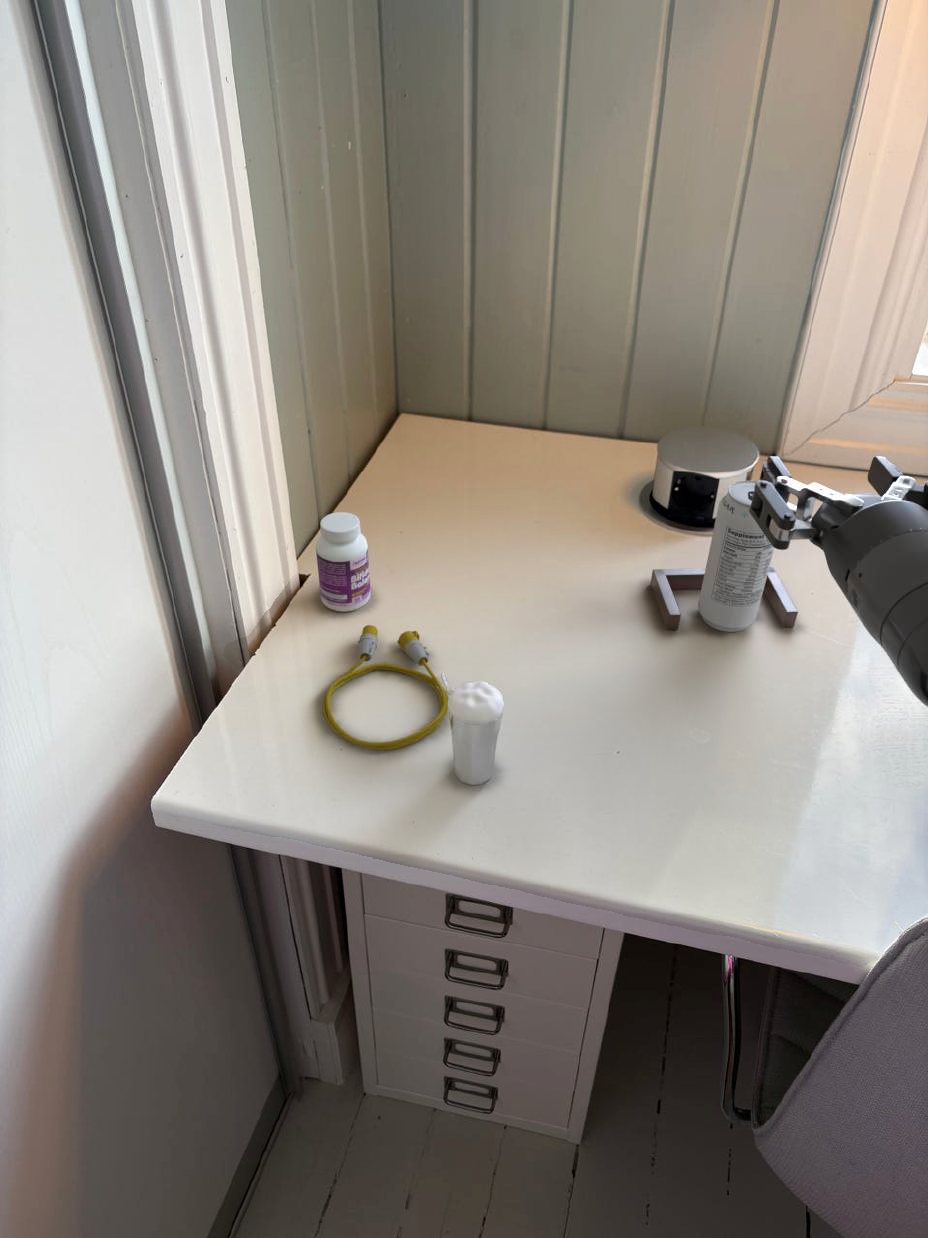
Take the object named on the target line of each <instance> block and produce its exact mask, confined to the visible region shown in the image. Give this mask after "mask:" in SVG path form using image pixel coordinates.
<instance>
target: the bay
mask: <svg viewBox="0 0 928 1238" xmlns="http://www.w3.org/2000/svg"><path fill="white" fill-rule="evenodd" d="M705 569H706V567H704V568H664V569H661V568H660V569H652V572H651V578H650V584H649V585H650V587H651V590H652V592H653V595H654V598H655V600H656V604H657V607H658V609H659V612H660V614H661V617H662V620H663V623H664V625H665V628H666V631H678V630H679V627H680V623H681V622H680V621H681V617H682V614H681V611H680V608H679V607H678V604H677V600H676V599H675V596H674V593H673V591H678V590H680V591H681V590H682V591H683V590H684V591H685V590H701V588H702V584H703V579H704V574H705ZM763 593H764V594H765V595H766V597H767V599H768V601H769V603H770V605H771V607H772V609H773V611H774V613H775V615H776V617H777V619H778V620H779V622H780V624H781V626H782V627H783V628H794V627H795V624H796V621H797V618H798V614H799V610H798V609H797V607H796V606H795V604H794V602H793V600H792V598H791V597H790V595H789V593H788V591H787V589H786V588H785V586H784V583H783V582H782V581H781V579H780V577H779V574H778V573H777V571H776V569H775V568H774V567H773V566H770V567H769V570H768V574H767V578H766V582H765V586H764V590H763Z"/></svg>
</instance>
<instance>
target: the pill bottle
mask: <svg viewBox="0 0 928 1238" xmlns="http://www.w3.org/2000/svg"><path fill="white" fill-rule="evenodd" d="M319 523H320V524H319V525H320V527H319V528H320V536H319V538H318V539H317V540H316V544H315V554H316V555H315V556H316V564H317V573H318V583H319V585H318V586H319V593H320V600H321V602H322V604H323V605H324V606H325V607H326V608H328V609H330V610H332V611H336V612H345V613H346V612H352V611H356V610H359V609H360V608H362V607H363V606H365V605H366V604H367V603H368V602H369V601H370V598H371V580H370V579H371V576H370V560H369V559H370V557H369V545H368V541H367V538H366V536H364V534H363V533H361V531H362V529H361V523H360V519H359V517H358V516H357V515H355V514H354V513H350V512H345V511H338V512H337V511H336V512H332V513H329V514H327V515H325V516H324V517H323V518H321V520H320V522H319Z"/></svg>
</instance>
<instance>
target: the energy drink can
mask: <svg viewBox="0 0 928 1238" xmlns="http://www.w3.org/2000/svg"><path fill="white" fill-rule="evenodd" d="M757 481H758V480H757ZM757 481H756V480H739V481H736V482H734V483H732V484H731V485H729V487H728V491H727V493H726V494H725V495H724V496H723V497H722V498H721V499H720V500H719V502H718V507H717V511H716V517H715V521H714V526H713V531H712V535H711V540H710V545H709V551H708V554H707V561H706V564H705V568H706V569H705V574H704V579H703V584H702V588H701V589H700V594H699V598H698V602H697V603H698V604H697V610H698V612H699V613H700V615H701V617H702V618H701V619H702V620H703V622H705V624H707V625H708V626H710V627H711V628H713V629H715V630H717V631H720V632H721V631H722V632H725V633H727V632H728V633H735V632H736V633H737V632H740V631H742V630H745V629H747V627H748V626H749V625H751V624H753V623H754V622H755V621H756V619H757V618H758V612H759V609H760V605H761V601H762V598H763V593H764V586H765V582H766V578H767V574H768V570H769V567H771V562H772V559H773V554H774V552H775V548H774V547H773V546H772V545H771V543H770V542H769V540H768V539H767V537H766V536H765V534H764V533H763V532H762V530H761V529H760V527H759V526H758V524H757V523H756V521H755V520H754V518H753V517H752V515H751V514H750V512H749V509H750V505H751V503H752V498H753V494H754V490H755V489H754V487H755V483H756V482H757Z"/></svg>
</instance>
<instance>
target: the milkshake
mask: <svg viewBox="0 0 928 1238" xmlns="http://www.w3.org/2000/svg"><path fill="white" fill-rule="evenodd" d="M440 677H441V679H442V682H443V684H444V687H445V690H446V692H447V694H448V698H449V699H448V716H449V717H448V718H449V723H450V724H449V725H450V731H451V733H450V734H451V743H452V752H453V753H452V754H453V755H452V756H453V765H454V773H455V775H456V776H457V778H458V779H459V781H460V782H462V783H464V784H468V785H470V786H475V785H477V786H478V785H483V784H485V783H486V782H487V781H489V780H491V778H492V777H493V770H494V764H495V757H496V750H497V743H498V737H499V732H500V728H501V724H502V718H503V713H504V709H505V708H504V707H505V701H504V698H503V695H502V693H501V692H500V691H499V689H498V688H496V687H495V686H493V685H490V683H489V684H488V683H487V682H486V681H483V680H477V681H474V682H465V683H463V684H461V685H458V686H457V687H456V688H455V689H454V690H453V691H452V688H451V686H450V684H449V682H448V680H447V677H446V675H445V672H442V673H441V674H440Z"/></svg>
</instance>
